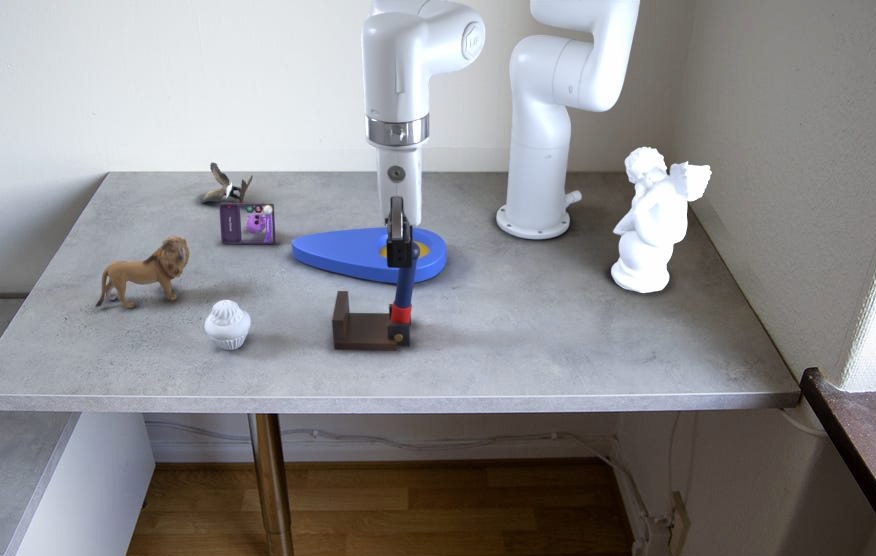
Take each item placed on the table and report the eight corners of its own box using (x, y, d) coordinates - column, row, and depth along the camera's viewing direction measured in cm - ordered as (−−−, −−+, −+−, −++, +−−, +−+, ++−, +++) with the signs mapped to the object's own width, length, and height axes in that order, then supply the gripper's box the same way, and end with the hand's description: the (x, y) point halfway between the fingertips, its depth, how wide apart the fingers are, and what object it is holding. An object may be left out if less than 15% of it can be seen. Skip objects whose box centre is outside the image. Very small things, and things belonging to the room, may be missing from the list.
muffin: (204, 336, 108) (196, 295, 104) (247, 325, 110) (241, 285, 106) (213, 362, 103) (205, 320, 99) (258, 350, 105) (252, 308, 101)
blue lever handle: (421, 238, 100) (401, 236, 100) (421, 249, 98) (400, 246, 98) (409, 321, 108) (390, 318, 108) (408, 332, 106) (389, 330, 106)
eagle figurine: (258, 186, 143) (215, 172, 145) (249, 166, 136) (204, 151, 138) (240, 221, 141) (196, 206, 142) (230, 202, 134) (184, 187, 135)
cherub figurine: (598, 263, 123) (618, 133, 110) (668, 252, 126) (696, 124, 113) (634, 305, 113) (661, 168, 101) (709, 293, 116) (744, 158, 103)
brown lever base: (411, 320, 111) (410, 291, 108) (409, 350, 105) (409, 321, 102) (339, 319, 111) (337, 290, 108) (334, 349, 105) (331, 320, 102)
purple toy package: (217, 203, 126) (272, 204, 126) (226, 199, 131) (279, 200, 131) (220, 244, 128) (274, 245, 127) (228, 238, 133) (280, 239, 132)
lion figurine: (192, 277, 120) (182, 226, 115) (200, 294, 116) (190, 243, 111) (94, 301, 115) (78, 249, 110) (98, 319, 111) (82, 267, 106)
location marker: (282, 278, 120) (440, 288, 117) (279, 259, 118) (440, 269, 115) (305, 236, 131) (451, 244, 127) (303, 218, 129) (451, 226, 125)
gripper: (428, 155, 83) (428, 295, 94) (429, 100, 97) (429, 228, 107) (359, 155, 84) (367, 294, 94) (370, 100, 97) (375, 228, 107)
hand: (400, 258), depth 101 cm, fingers closed on blue lever handle, 2 cm apart
